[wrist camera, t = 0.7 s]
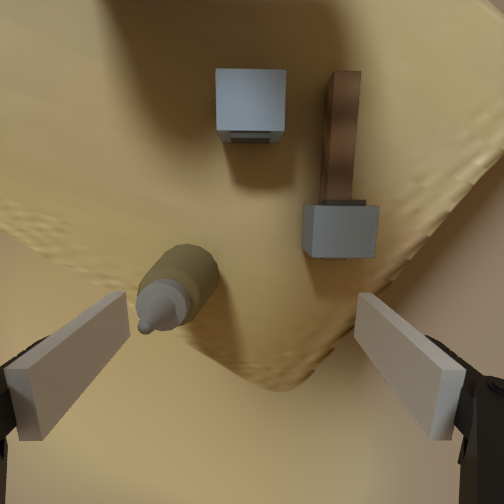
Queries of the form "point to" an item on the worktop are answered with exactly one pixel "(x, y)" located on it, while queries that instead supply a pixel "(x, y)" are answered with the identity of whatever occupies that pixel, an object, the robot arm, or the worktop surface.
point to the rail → (339, 136)
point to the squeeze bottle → (175, 288)
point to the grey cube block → (250, 105)
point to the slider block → (340, 229)
